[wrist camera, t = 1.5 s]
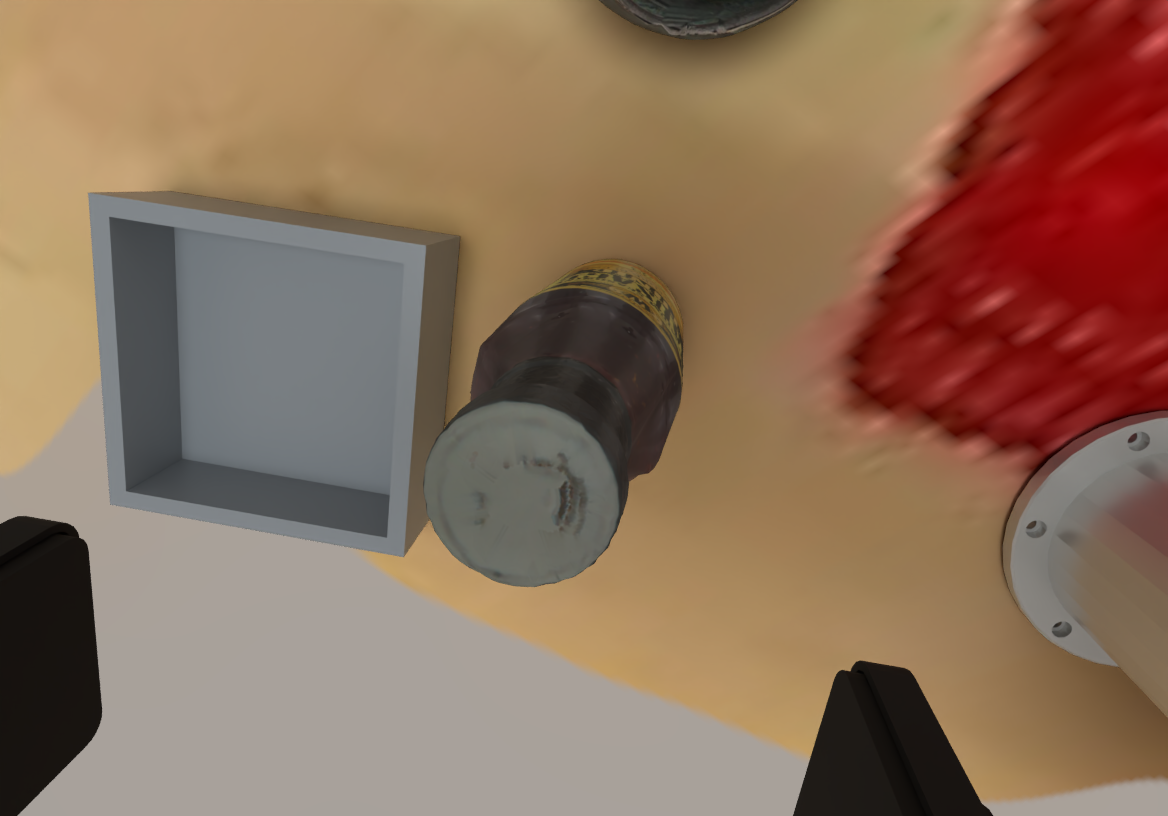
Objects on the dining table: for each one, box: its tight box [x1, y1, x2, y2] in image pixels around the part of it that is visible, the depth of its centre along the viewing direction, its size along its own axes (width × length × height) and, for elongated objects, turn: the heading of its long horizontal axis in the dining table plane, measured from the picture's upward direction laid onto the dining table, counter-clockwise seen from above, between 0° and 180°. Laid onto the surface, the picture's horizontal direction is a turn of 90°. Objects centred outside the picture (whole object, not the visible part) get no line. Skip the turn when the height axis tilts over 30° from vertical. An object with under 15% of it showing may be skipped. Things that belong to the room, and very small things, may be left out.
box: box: [88, 191, 460, 557], centre depth 32 cm, size 14×14×5 cm
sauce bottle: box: [423, 259, 683, 587], centre depth 23 cm, size 6×6×20 cm
